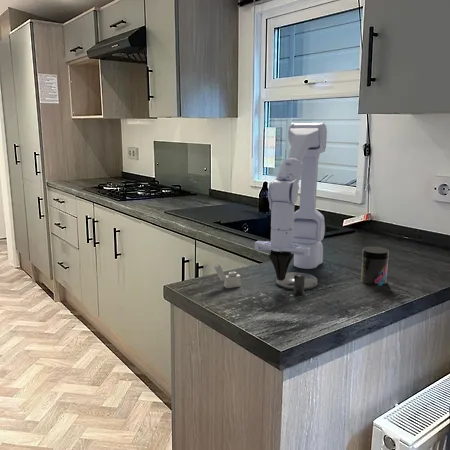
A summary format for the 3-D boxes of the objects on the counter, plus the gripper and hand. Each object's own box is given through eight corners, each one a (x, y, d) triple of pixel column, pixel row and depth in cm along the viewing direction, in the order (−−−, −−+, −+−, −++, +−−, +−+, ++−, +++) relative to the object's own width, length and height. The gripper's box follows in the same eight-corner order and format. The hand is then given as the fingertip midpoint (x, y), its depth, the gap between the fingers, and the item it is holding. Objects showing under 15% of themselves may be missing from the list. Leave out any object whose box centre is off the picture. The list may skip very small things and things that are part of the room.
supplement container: (370, 292, 122) (373, 254, 120) (355, 283, 128) (357, 247, 126) (391, 288, 124) (394, 251, 122) (375, 281, 130) (378, 245, 128)
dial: (275, 275, 131) (276, 259, 130) (314, 276, 130) (315, 260, 129) (277, 294, 116) (277, 276, 115) (321, 296, 115) (322, 277, 114)
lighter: (238, 289, 124) (238, 260, 123) (240, 291, 123) (240, 262, 121) (213, 292, 122) (213, 263, 120) (216, 294, 120) (215, 265, 119)
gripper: (249, 228, 116) (249, 279, 119) (304, 234, 109) (302, 288, 112) (261, 222, 122) (260, 271, 125) (314, 228, 115) (312, 280, 118)
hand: (281, 279), depth 119 cm, fingers closed
